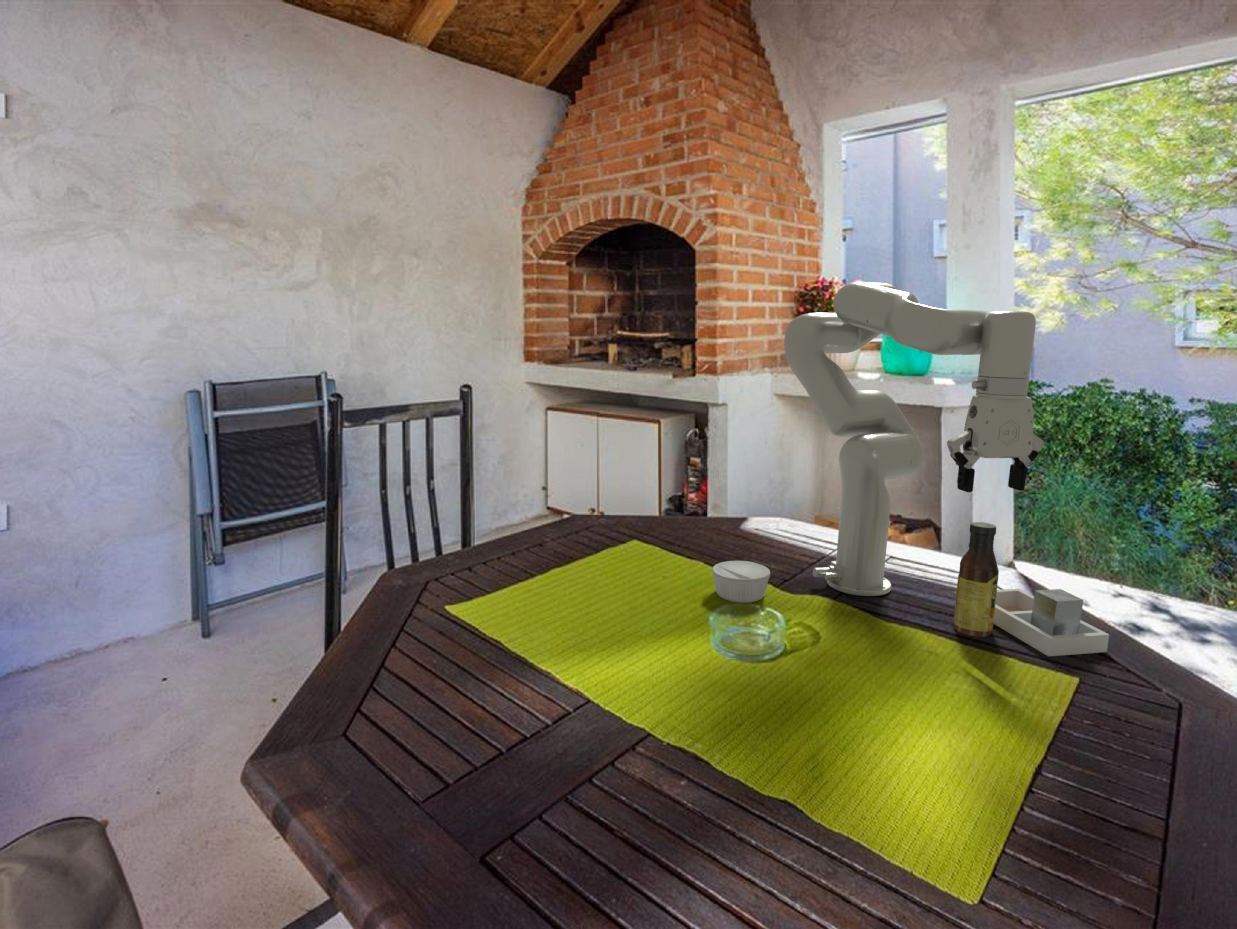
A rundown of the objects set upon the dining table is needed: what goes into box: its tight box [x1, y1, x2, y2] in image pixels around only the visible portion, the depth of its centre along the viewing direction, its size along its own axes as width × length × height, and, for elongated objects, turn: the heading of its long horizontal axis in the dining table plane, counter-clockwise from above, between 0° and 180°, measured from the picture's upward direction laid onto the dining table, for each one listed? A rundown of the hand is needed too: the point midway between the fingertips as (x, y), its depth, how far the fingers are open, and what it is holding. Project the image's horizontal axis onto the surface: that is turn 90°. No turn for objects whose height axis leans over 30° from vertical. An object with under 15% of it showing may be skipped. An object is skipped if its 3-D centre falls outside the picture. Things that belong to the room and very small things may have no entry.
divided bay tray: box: [993, 588, 1110, 657], centre depth 131 cm, size 21×11×4 cm, turn 11°
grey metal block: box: [1030, 588, 1084, 636], centre depth 126 cm, size 5×5×8 cm
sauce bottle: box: [953, 521, 1000, 638], centre depth 128 cm, size 7×6×20 cm
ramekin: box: [711, 560, 771, 604], centre depth 147 cm, size 11×11×5 cm
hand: (990, 489), depth 125 cm, fingers open, 9 cm apart
